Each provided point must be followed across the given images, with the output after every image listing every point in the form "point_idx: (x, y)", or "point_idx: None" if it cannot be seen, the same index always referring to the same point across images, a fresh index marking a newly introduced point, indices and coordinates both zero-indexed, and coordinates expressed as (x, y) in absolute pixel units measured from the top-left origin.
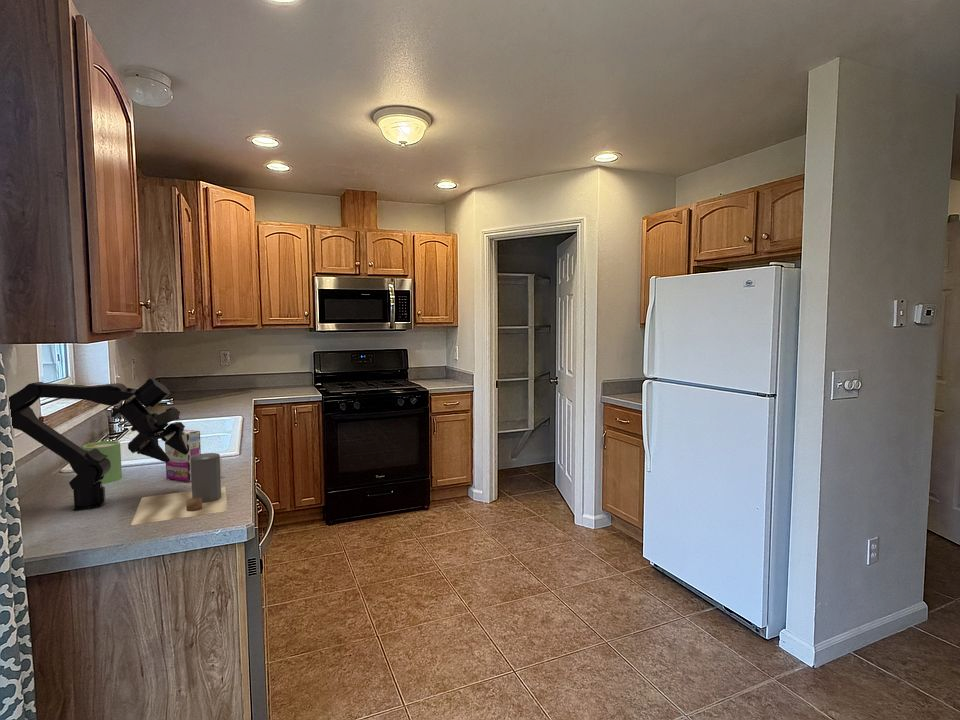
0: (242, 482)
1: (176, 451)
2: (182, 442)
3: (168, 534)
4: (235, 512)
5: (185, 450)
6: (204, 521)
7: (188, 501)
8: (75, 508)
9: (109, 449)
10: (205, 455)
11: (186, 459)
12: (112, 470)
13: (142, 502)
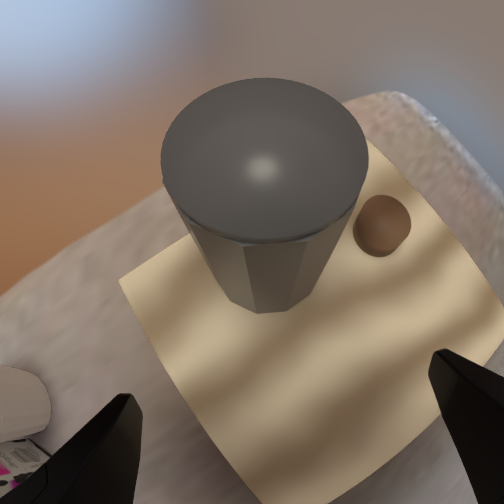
0: (50, 272)
1: None
2: (64, 472)
3: (494, 206)
4: None
5: (123, 416)
6: (416, 170)
7: (406, 227)
8: None
9: None
10: (242, 151)
11: (5, 492)
12: None
13: (344, 484)
